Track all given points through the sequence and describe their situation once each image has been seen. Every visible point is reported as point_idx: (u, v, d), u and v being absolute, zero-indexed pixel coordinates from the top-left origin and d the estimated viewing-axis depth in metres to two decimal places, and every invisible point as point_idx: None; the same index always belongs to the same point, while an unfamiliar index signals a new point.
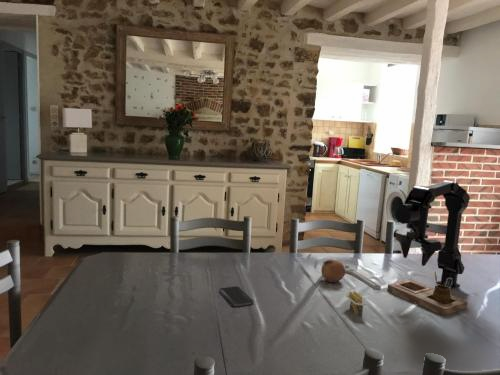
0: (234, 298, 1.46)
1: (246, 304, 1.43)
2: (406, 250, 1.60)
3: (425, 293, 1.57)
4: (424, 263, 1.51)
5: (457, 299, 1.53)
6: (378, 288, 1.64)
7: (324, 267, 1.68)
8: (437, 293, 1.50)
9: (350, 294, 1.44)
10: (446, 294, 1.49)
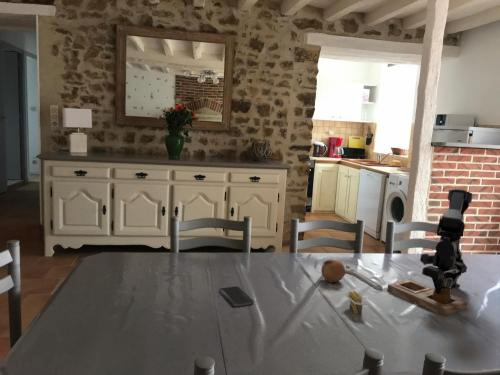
0: (234, 298, 1.46)
1: (246, 304, 1.43)
2: (447, 283, 1.53)
3: (425, 293, 1.57)
4: (436, 291, 1.50)
5: (457, 299, 1.53)
6: (380, 288, 1.64)
7: (324, 267, 1.68)
8: None
9: (350, 294, 1.45)
10: (446, 294, 1.49)
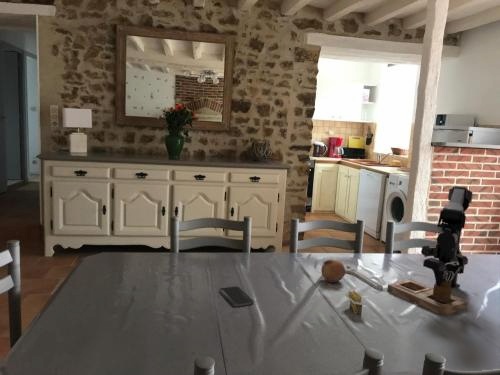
0: (234, 298, 1.46)
1: (246, 304, 1.43)
2: (448, 275, 1.52)
3: (425, 293, 1.57)
4: (437, 283, 1.49)
5: (457, 299, 1.53)
6: (380, 288, 1.64)
7: (324, 267, 1.68)
8: (438, 286, 1.50)
9: (349, 293, 1.45)
10: (447, 287, 1.49)
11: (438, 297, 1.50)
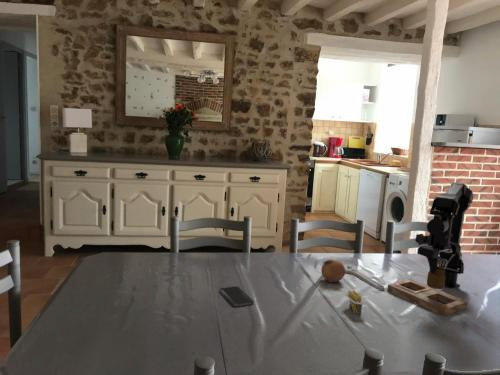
0: (234, 298, 1.46)
1: (246, 304, 1.43)
2: (442, 263, 1.54)
3: (425, 293, 1.57)
4: (431, 270, 1.51)
5: (457, 299, 1.53)
6: (382, 288, 1.64)
7: (324, 267, 1.68)
8: (432, 274, 1.52)
9: (349, 293, 1.45)
10: (441, 275, 1.51)
11: (432, 285, 1.52)
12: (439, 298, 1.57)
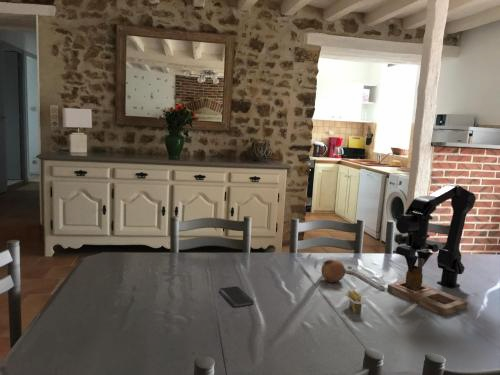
0: (234, 298, 1.46)
1: (246, 304, 1.43)
2: None
3: (425, 293, 1.57)
4: (409, 269, 1.59)
5: (457, 299, 1.53)
6: (382, 289, 1.64)
7: (324, 267, 1.68)
8: (410, 272, 1.60)
9: (349, 293, 1.45)
10: (418, 274, 1.59)
11: (410, 283, 1.60)
12: (439, 298, 1.57)
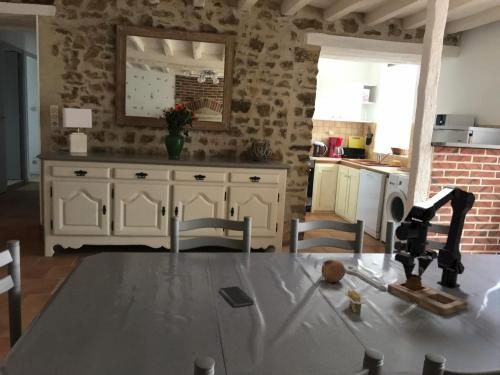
0: (234, 298, 1.46)
1: (246, 304, 1.43)
2: (420, 268, 1.63)
3: (425, 293, 1.57)
4: (407, 276, 1.59)
5: (457, 299, 1.53)
6: (383, 289, 1.64)
7: (324, 267, 1.68)
8: (409, 281, 1.60)
9: (349, 293, 1.46)
10: (417, 282, 1.59)
11: None
12: (439, 298, 1.57)
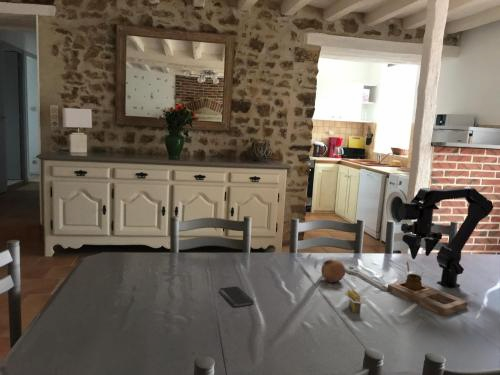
0: (234, 298, 1.46)
1: (246, 304, 1.43)
2: (427, 249, 1.72)
3: (425, 293, 1.57)
4: (412, 256, 1.67)
5: (457, 299, 1.53)
6: (385, 289, 1.63)
7: (324, 267, 1.68)
8: (409, 281, 1.60)
9: (349, 292, 1.46)
10: (417, 282, 1.59)
11: None
12: (439, 298, 1.57)
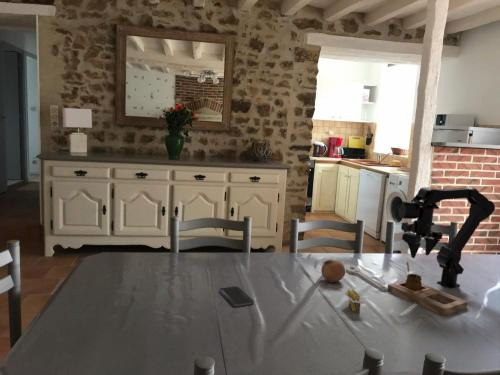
0: (234, 298, 1.46)
1: (246, 304, 1.43)
2: (427, 248, 1.72)
3: (425, 293, 1.57)
4: (412, 255, 1.67)
5: (457, 299, 1.53)
6: (384, 290, 1.63)
7: (324, 267, 1.68)
8: (409, 281, 1.60)
9: (348, 292, 1.46)
10: (417, 282, 1.59)
11: None
12: (439, 298, 1.57)
